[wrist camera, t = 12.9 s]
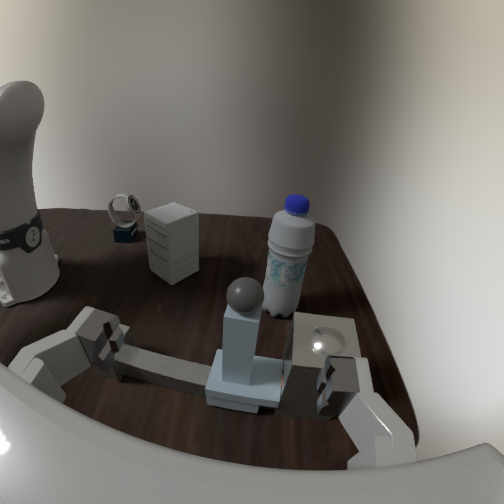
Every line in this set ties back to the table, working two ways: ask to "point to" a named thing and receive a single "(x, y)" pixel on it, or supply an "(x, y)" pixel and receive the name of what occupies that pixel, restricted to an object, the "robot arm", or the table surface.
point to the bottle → (288, 256)
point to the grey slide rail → (294, 359)
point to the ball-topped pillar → (243, 355)
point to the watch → (125, 228)
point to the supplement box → (172, 241)
